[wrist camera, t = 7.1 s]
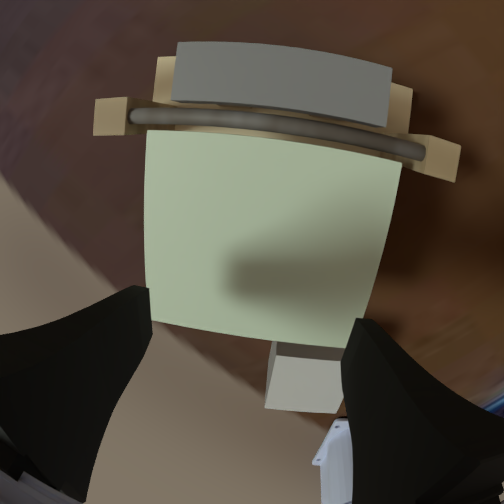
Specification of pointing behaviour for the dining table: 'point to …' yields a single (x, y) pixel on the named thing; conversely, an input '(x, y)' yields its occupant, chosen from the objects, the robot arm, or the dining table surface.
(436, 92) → the dining table surface
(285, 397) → the white cube
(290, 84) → the trapdoor
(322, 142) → the frame
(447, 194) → the dining table surface
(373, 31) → the dining table surface
